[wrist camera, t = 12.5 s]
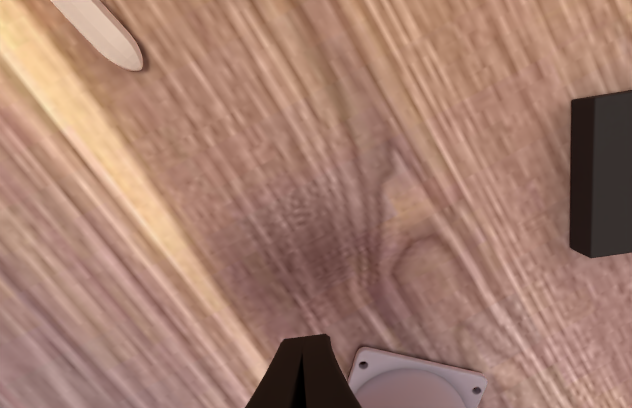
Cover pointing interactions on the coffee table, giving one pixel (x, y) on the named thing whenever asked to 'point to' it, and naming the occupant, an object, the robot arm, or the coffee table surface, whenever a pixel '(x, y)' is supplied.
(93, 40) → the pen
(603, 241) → the graphite pad
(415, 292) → the coffee table surface
